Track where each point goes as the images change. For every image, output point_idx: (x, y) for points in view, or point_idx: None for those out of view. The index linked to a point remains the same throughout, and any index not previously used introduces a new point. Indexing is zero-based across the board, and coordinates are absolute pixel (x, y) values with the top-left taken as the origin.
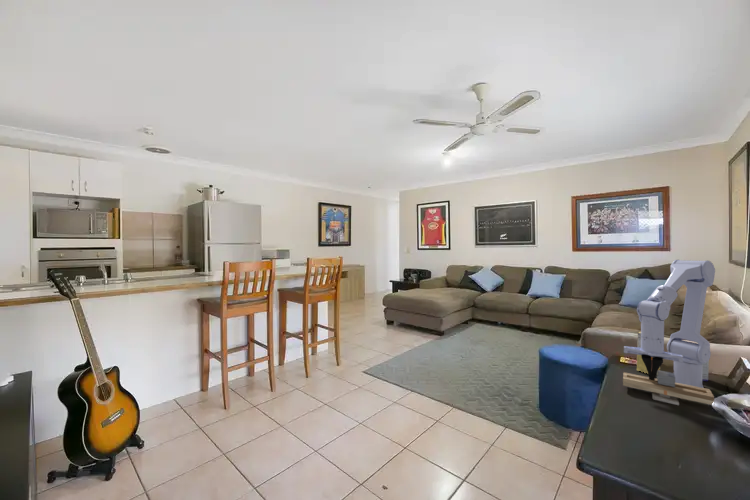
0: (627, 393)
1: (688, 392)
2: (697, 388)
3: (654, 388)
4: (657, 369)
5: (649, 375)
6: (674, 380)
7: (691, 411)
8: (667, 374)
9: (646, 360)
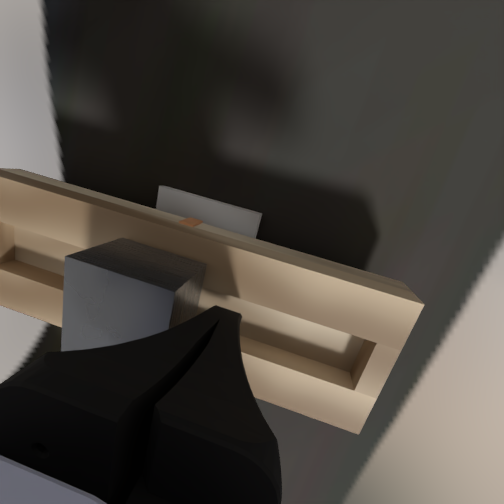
0: (373, 246)
1: (73, 197)
2: (22, 284)
3: (238, 239)
4: (152, 337)
5: (234, 324)
6: (89, 250)
7: (132, 126)
8: (103, 322)
9: (227, 426)
